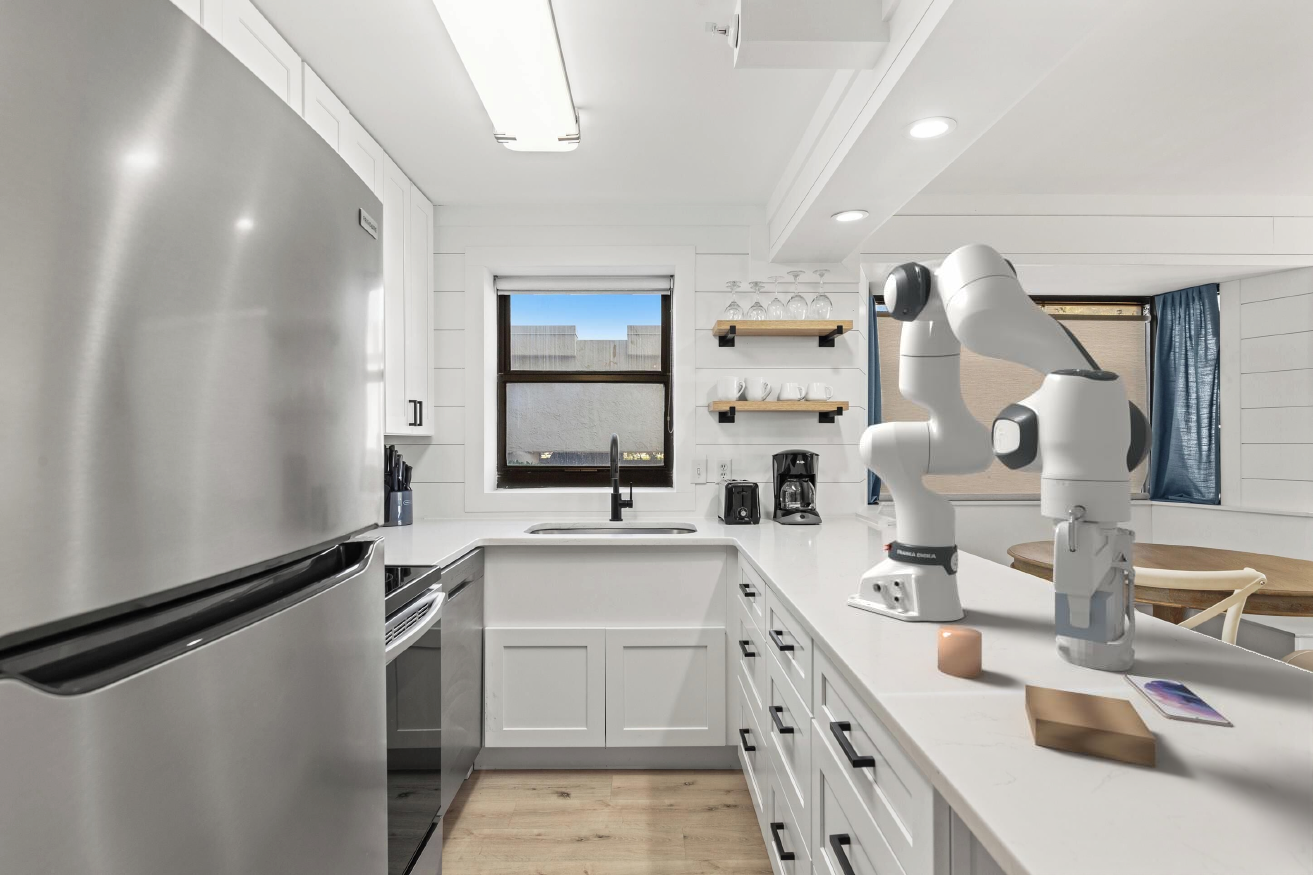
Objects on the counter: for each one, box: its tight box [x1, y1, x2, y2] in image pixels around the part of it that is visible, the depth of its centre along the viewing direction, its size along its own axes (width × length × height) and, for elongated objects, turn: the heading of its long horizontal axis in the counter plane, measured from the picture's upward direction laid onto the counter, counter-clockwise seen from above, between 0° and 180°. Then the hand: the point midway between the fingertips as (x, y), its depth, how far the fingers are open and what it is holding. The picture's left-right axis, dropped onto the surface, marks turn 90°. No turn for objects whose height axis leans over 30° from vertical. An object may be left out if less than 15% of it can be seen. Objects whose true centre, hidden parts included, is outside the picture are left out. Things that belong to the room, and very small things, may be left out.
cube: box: [1054, 590, 1114, 644], centre depth 74 cm, size 5×5×5 cm
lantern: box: [1055, 526, 1136, 672], centre depth 100 cm, size 13×10×25 cm
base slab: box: [1024, 684, 1156, 768], centre depth 74 cm, size 11×11×3 cm
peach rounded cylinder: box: [937, 625, 983, 679], centre depth 94 cm, size 6×6×6 cm
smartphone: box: [1122, 674, 1233, 728], centre depth 84 cm, size 7×1×15 cm
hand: (1084, 620), depth 74 cm, fingers closed on cube, 5 cm apart
